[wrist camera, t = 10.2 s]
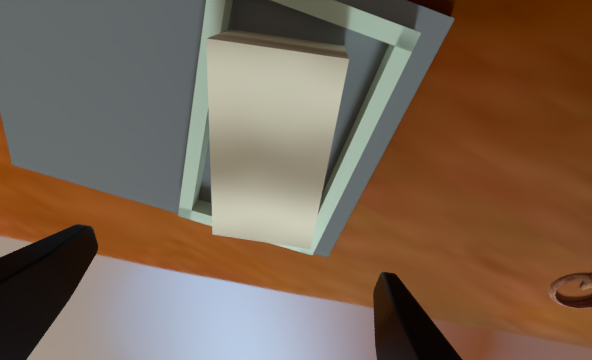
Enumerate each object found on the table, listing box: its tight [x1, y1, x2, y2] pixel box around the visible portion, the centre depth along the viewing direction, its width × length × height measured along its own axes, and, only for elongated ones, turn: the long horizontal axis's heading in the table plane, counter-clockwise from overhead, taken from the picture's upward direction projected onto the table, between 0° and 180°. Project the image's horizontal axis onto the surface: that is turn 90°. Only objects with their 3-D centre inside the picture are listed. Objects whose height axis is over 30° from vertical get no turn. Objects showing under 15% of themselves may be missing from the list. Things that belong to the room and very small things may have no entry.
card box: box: [206, 29, 349, 249], centre depth 16 cm, size 10×6×4 cm, turn 174°
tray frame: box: [178, 0, 421, 255], centre depth 17 cm, size 9×14×1 cm, turn 163°
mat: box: [0, 0, 454, 258], centre depth 17 cm, size 22×16×1 cm
